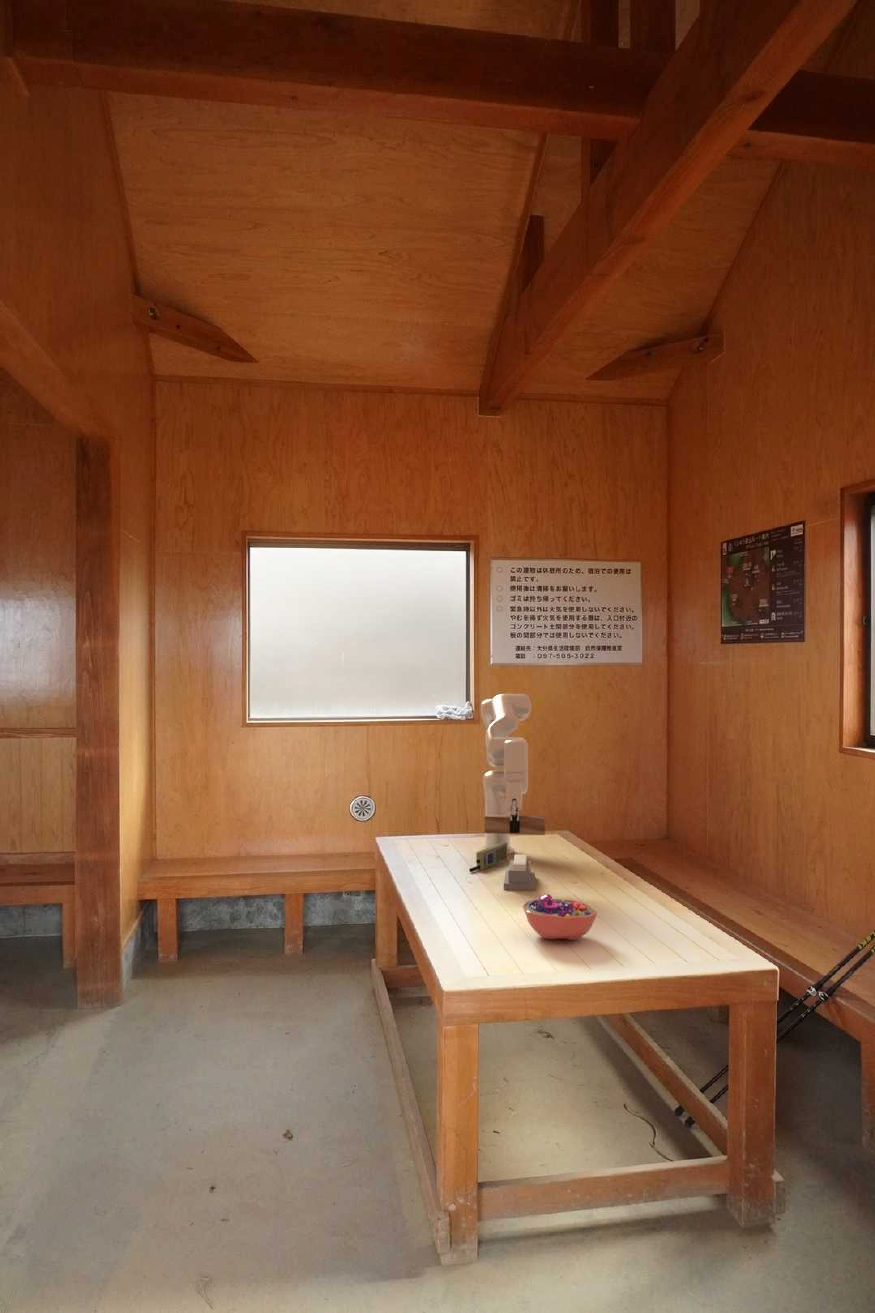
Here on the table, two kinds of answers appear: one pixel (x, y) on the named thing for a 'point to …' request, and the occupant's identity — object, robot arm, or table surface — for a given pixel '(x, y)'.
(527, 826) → the walnut bar
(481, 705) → the robot arm
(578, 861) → the table surface
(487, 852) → the handheld radio
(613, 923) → the table surface
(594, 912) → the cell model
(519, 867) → the ridge stand
